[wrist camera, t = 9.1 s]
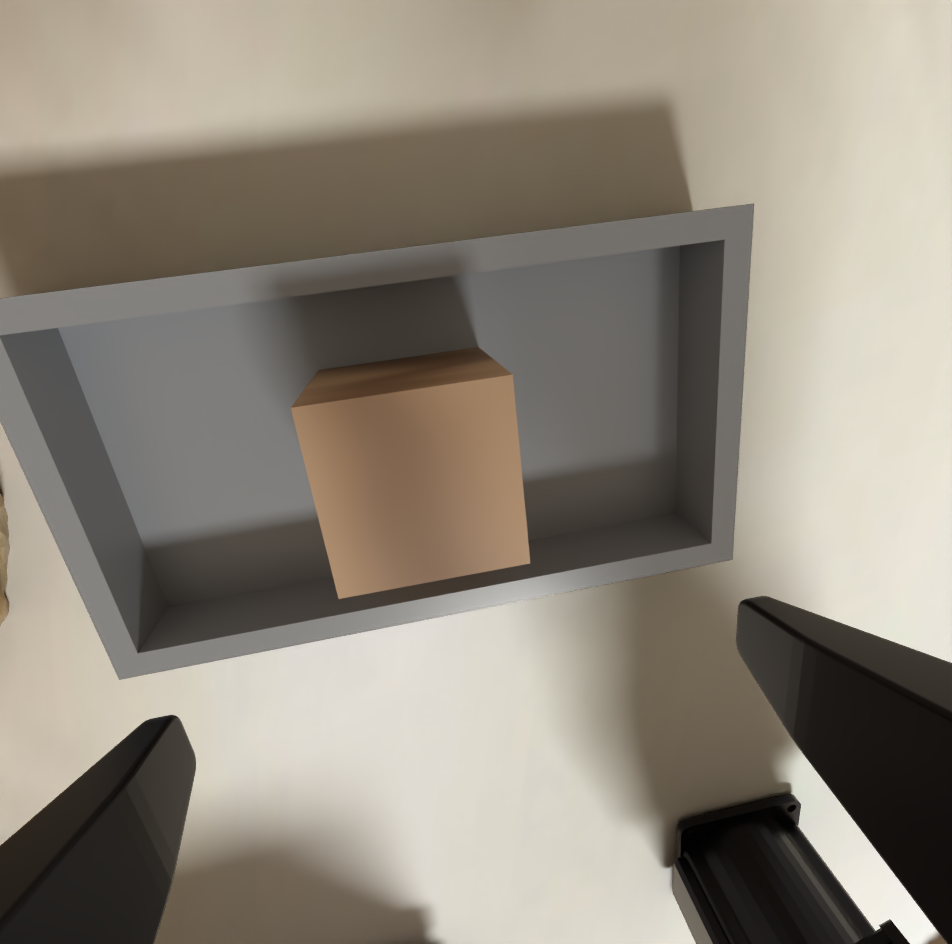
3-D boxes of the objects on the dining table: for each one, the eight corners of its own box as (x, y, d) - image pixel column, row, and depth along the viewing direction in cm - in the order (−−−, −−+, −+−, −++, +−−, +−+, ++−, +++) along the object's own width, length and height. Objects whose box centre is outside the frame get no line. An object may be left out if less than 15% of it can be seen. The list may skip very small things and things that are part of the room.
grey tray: (694, 214, 17) (754, 203, 14) (686, 521, 21) (732, 559, 18) (27, 299, 15) (-54, 305, 12) (158, 620, 19) (119, 679, 16)
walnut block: (478, 347, 17) (512, 374, 12) (495, 491, 19) (530, 563, 14) (318, 369, 16) (291, 407, 12) (351, 516, 18) (338, 599, 14)
